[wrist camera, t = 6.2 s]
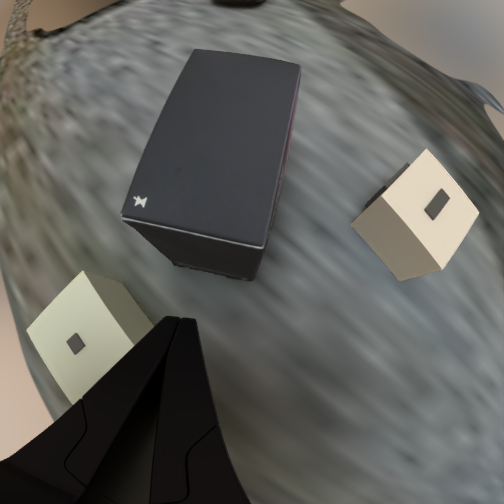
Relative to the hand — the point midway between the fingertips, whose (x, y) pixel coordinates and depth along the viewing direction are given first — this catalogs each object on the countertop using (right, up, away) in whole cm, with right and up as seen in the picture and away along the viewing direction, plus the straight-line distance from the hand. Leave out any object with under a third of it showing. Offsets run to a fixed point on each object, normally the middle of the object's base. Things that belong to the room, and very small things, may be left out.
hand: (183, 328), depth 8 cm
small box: (0, +5, +15) cm, 16 cm away
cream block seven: (+14, +4, +14) cm, 20 cm away
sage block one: (-8, -4, +12) cm, 15 cm away
